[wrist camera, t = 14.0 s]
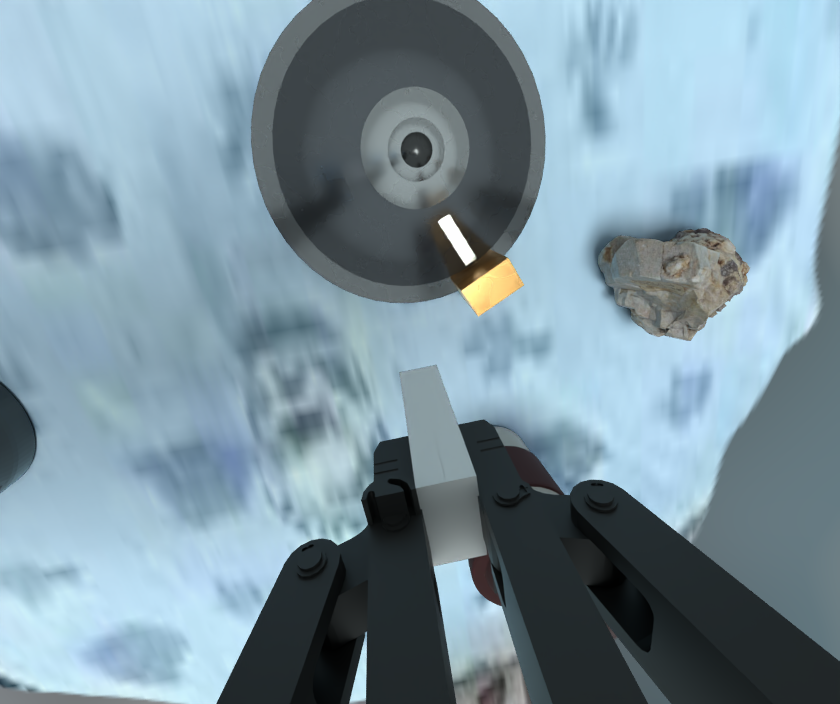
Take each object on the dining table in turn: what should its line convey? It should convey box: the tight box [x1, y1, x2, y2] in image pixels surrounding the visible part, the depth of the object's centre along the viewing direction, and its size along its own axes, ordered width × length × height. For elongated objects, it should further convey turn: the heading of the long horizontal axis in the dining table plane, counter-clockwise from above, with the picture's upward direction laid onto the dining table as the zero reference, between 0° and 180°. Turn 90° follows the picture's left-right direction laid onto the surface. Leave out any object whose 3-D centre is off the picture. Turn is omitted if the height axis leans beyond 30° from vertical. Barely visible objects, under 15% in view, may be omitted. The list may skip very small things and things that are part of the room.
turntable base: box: [251, 0, 545, 303], centre depth 29 cm, size 22×22×1 cm
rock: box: [598, 228, 750, 341], centre depth 31 cm, size 9×12×10 cm
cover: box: [361, 87, 469, 209], centre depth 26 cm, size 7×7×3 cm
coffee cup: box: [468, 427, 564, 606], centre depth 34 cm, size 10×10×15 cm
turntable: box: [272, 0, 531, 316], centre depth 27 cm, size 18×21×5 cm
